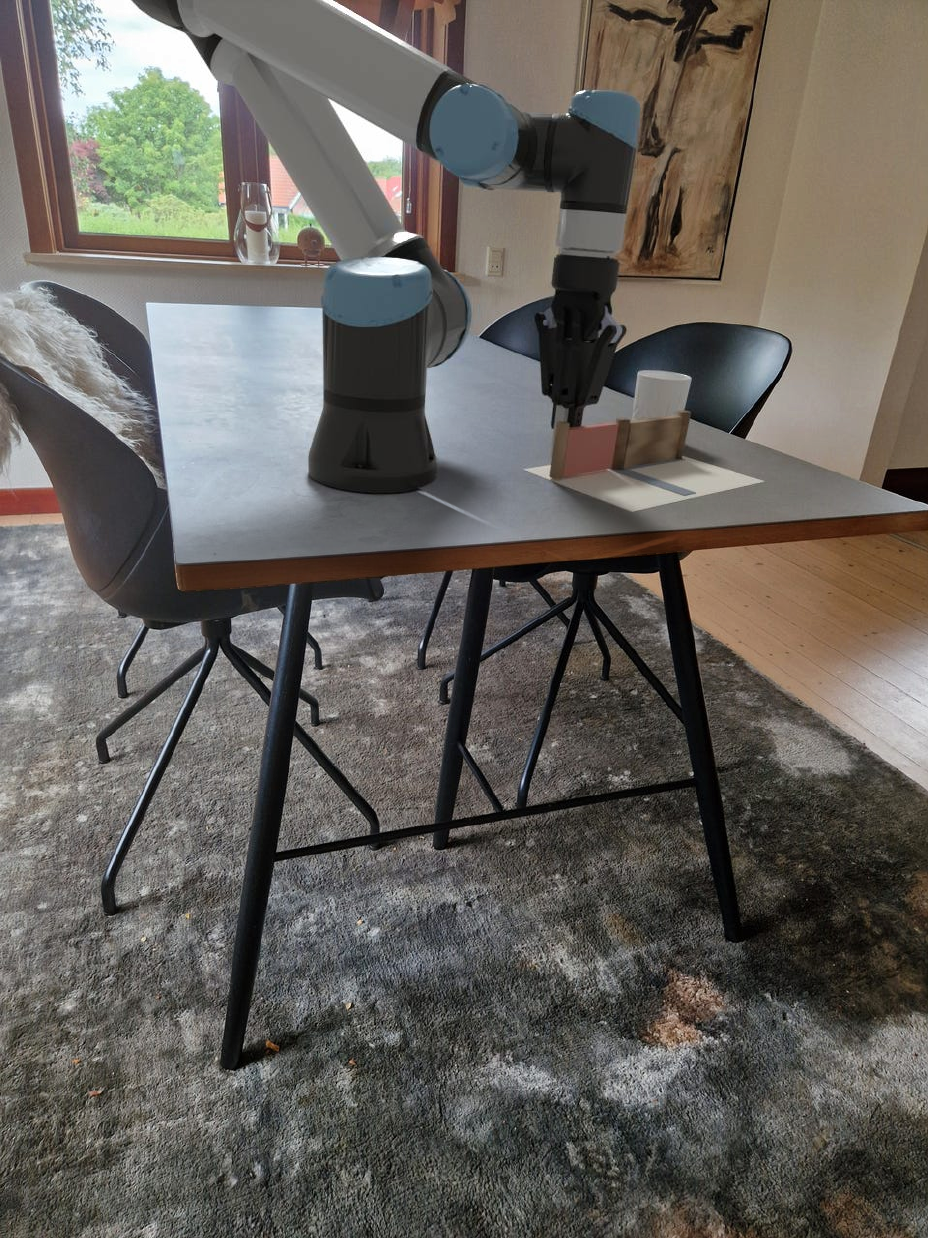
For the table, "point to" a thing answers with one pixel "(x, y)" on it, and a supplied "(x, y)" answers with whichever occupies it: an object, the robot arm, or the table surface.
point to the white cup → (660, 394)
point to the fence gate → (582, 449)
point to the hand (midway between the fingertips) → (561, 457)
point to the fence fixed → (650, 440)
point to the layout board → (652, 482)
